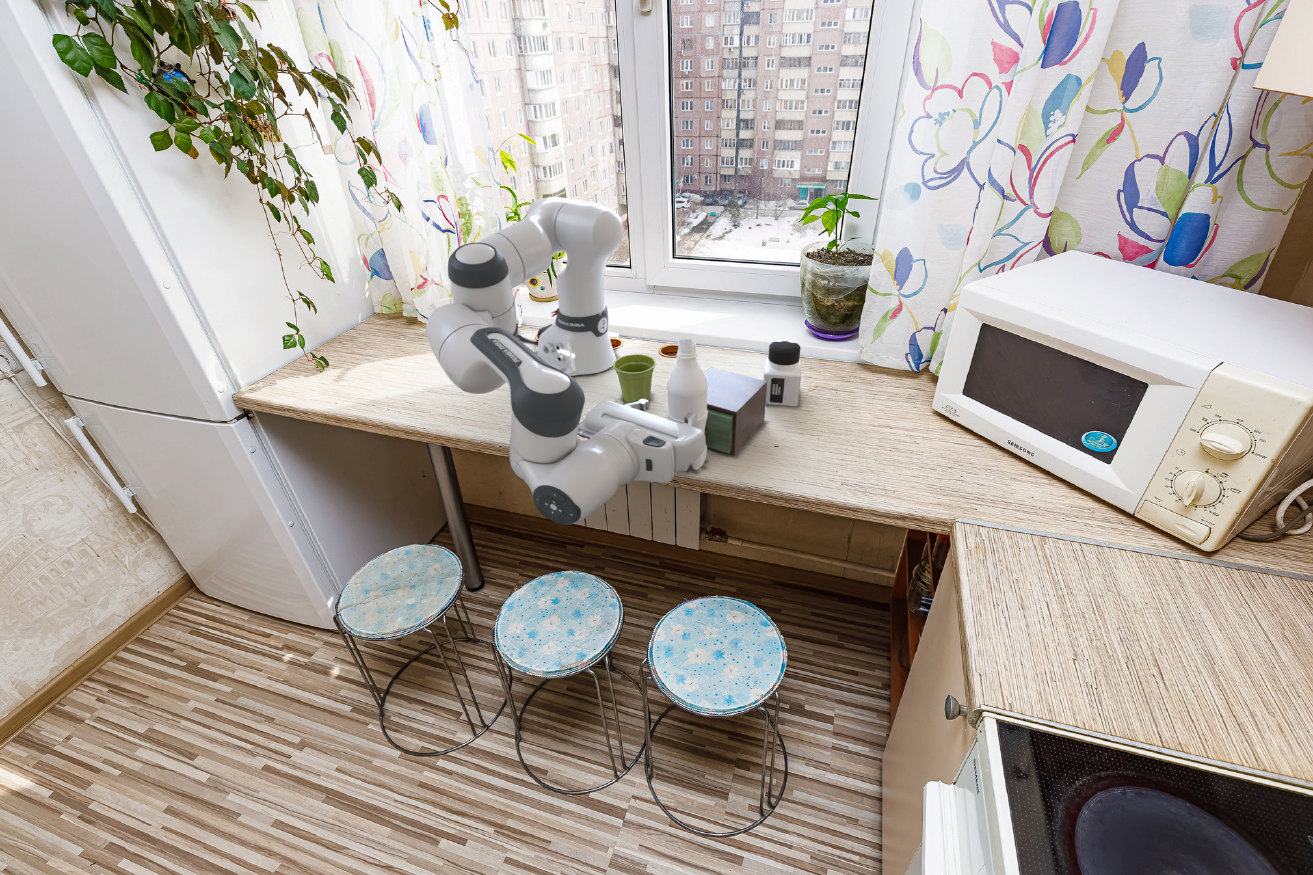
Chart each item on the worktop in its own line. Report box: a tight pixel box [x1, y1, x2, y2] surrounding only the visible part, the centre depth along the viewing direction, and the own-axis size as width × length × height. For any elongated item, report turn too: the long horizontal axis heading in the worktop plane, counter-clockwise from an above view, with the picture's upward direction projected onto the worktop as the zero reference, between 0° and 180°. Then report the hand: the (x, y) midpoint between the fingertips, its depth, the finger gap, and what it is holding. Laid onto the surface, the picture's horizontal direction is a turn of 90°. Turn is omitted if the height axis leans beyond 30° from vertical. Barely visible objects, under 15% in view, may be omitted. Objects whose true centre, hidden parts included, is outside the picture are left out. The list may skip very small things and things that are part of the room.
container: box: [763, 339, 802, 407], centre depth 131 cm, size 8×8×13 cm
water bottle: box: [666, 338, 708, 472], centre depth 108 cm, size 7×7×25 cm
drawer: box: [704, 408, 733, 455], centre depth 119 cm, size 14×12×8 cm
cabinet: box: [703, 367, 767, 456], centre depth 121 cm, size 14×13×10 cm
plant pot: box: [612, 353, 657, 404], centre depth 134 cm, size 9×9×9 cm
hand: (669, 410), depth 102 cm, fingers open, 8 cm apart
